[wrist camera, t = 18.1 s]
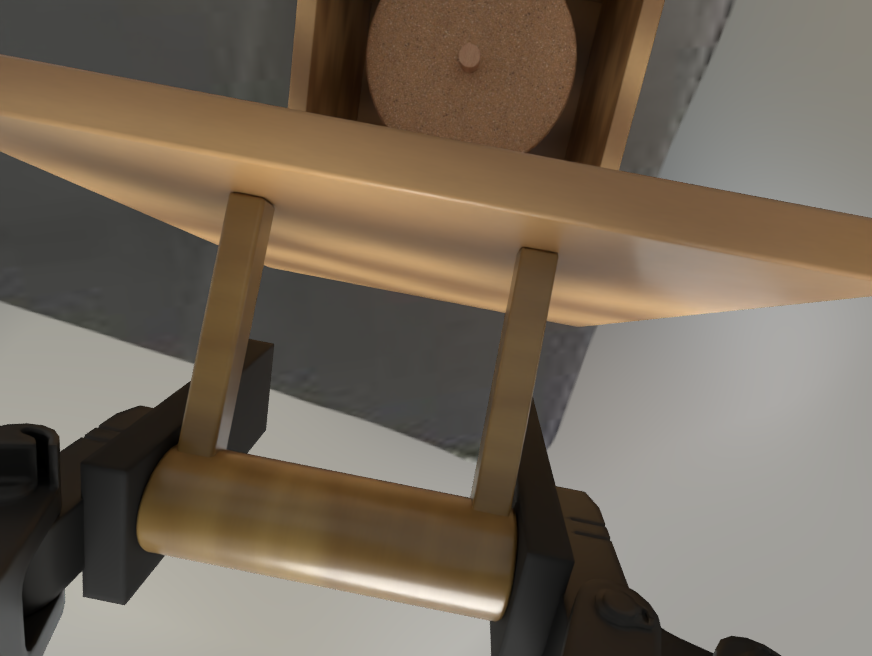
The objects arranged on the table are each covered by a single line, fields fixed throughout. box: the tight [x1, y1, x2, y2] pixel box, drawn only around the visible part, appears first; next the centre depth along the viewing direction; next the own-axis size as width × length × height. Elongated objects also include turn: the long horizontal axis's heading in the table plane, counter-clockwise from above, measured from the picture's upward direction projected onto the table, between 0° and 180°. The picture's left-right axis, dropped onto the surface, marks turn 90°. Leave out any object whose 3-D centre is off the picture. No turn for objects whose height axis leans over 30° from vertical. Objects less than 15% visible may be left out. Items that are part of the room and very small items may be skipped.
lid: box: [0, 54, 872, 622], centre depth 17 cm, size 19×16×8 cm
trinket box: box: [366, 0, 577, 153], centre depth 30 cm, size 11×11×9 cm
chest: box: [288, 0, 665, 170], centre depth 30 cm, size 18×16×12 cm
